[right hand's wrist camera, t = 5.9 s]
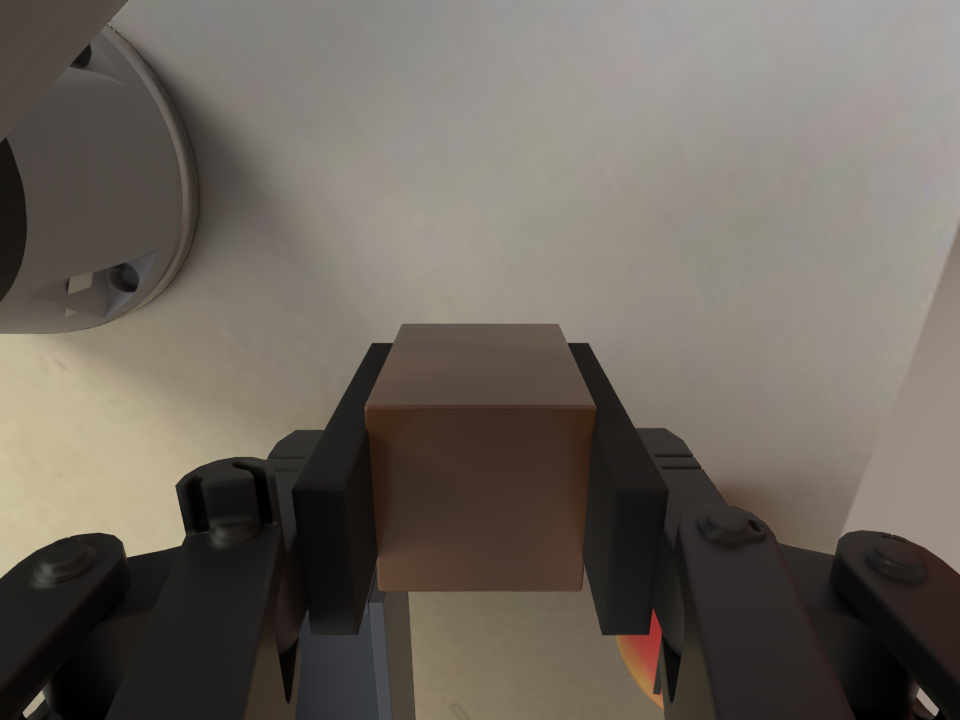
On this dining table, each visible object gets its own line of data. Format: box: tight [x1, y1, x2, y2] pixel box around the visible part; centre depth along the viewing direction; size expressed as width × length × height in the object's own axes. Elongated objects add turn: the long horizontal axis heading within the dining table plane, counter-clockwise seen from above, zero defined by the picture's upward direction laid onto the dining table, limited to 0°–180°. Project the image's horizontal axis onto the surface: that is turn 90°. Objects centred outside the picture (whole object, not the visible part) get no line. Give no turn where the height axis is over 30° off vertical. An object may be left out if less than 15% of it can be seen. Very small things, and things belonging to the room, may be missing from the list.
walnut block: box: [364, 324, 596, 591], centre depth 13 cm, size 4×4×5 cm
